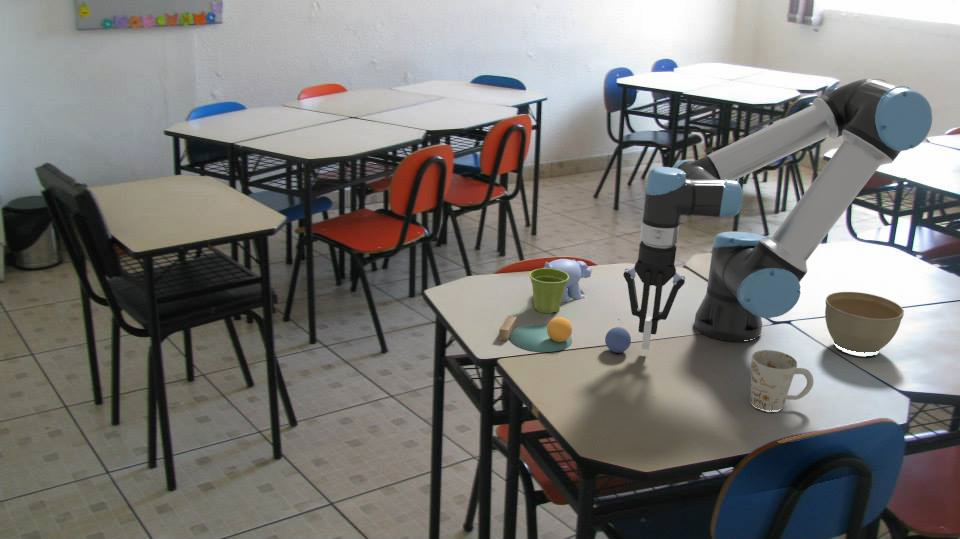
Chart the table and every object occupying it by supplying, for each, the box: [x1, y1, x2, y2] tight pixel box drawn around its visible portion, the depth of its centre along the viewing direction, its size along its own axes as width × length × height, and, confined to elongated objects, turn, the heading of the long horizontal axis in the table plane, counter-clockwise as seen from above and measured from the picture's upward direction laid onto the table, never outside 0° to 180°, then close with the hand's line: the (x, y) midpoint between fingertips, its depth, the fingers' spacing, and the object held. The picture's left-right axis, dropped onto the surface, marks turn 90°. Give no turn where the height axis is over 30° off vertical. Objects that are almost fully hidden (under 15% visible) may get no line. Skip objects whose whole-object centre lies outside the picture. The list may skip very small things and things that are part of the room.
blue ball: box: [604, 326, 632, 354], centre depth 196 cm, size 6×6×6 cm
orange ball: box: [547, 316, 573, 342], centre depth 200 cm, size 6×6×6 cm
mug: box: [750, 349, 814, 411], centre depth 176 cm, size 8×13×10 cm, turn 95°
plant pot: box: [528, 267, 569, 314], centre depth 216 cm, size 9×9×9 cm
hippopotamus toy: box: [543, 258, 593, 303], centre depth 227 cm, size 11×15×10 cm
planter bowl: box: [824, 291, 905, 353], centre depth 202 cm, size 16×16×11 cm
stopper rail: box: [498, 315, 517, 342], centre depth 203 cm, size 2×8×2 cm, turn 165°
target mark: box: [509, 324, 573, 353], centre depth 202 cm, size 14×14×1 cm
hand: (645, 346), depth 196 cm, fingers closed
